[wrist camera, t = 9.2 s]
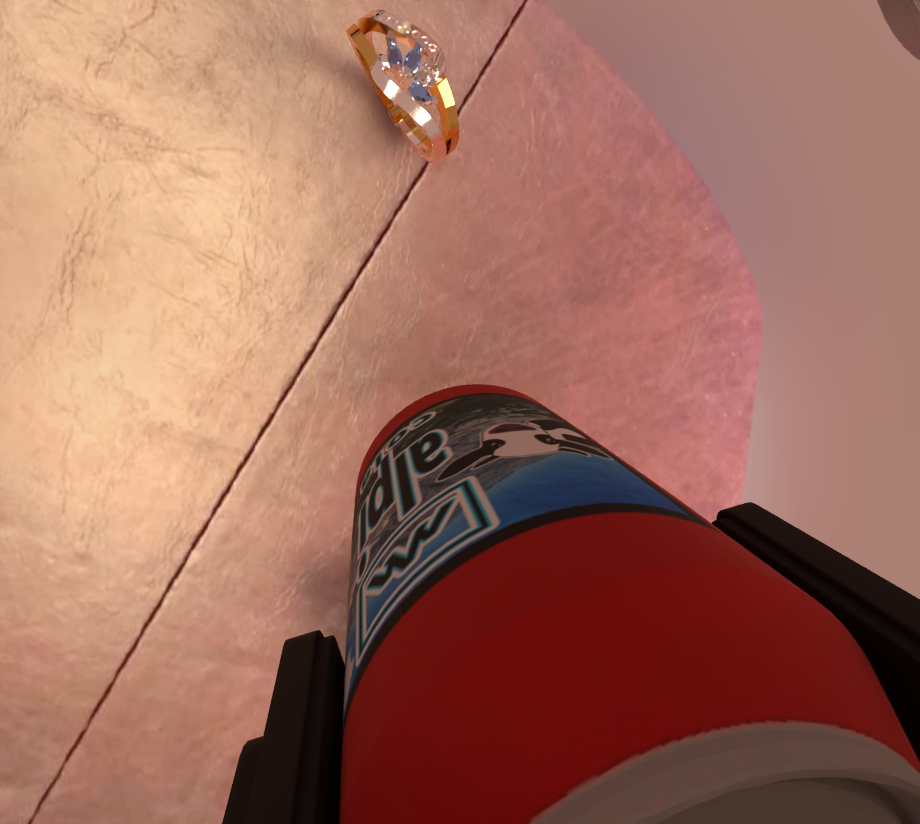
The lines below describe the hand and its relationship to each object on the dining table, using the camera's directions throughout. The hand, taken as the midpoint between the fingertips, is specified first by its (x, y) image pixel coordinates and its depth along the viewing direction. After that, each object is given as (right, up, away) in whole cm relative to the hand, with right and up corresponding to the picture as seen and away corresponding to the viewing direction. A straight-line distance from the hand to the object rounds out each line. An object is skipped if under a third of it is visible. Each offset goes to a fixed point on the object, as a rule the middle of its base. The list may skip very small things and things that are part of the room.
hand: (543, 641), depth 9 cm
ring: (-5, +21, +21) cm, 30 cm away
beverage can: (-1, +2, +7) cm, 7 cm away
